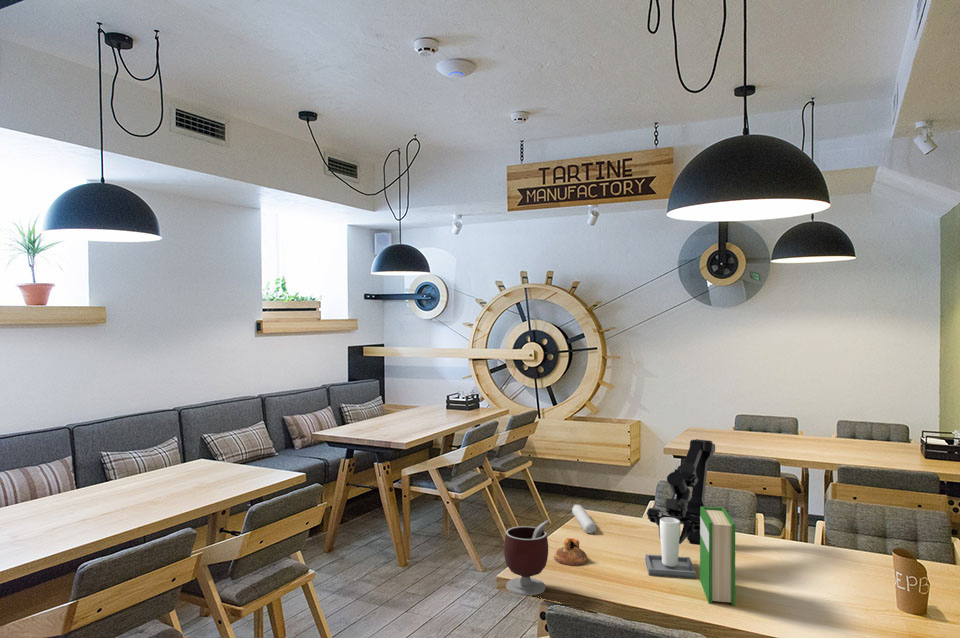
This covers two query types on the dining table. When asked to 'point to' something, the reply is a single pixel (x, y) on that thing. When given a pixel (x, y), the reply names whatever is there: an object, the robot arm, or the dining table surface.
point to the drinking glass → (669, 540)
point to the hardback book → (717, 554)
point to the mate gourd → (526, 558)
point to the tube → (583, 519)
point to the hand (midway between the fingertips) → (670, 541)
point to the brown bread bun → (570, 553)
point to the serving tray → (659, 569)
